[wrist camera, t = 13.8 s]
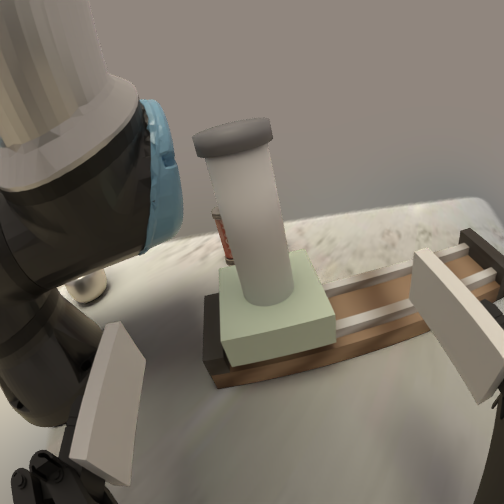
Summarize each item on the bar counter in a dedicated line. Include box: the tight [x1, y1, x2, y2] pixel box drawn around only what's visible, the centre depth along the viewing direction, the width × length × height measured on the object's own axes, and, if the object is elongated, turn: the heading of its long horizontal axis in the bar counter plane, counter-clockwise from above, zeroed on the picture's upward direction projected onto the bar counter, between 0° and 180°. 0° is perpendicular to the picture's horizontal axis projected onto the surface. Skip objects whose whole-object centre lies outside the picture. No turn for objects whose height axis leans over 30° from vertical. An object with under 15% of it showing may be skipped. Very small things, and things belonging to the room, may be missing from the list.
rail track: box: [203, 228, 504, 389], centre depth 26 cm, size 30×8×4 cm, turn 96°
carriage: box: [192, 118, 336, 367], centre depth 22 cm, size 8×9×16 cm
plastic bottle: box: [65, 269, 107, 303], centre depth 36 cm, size 6×7×20 cm
